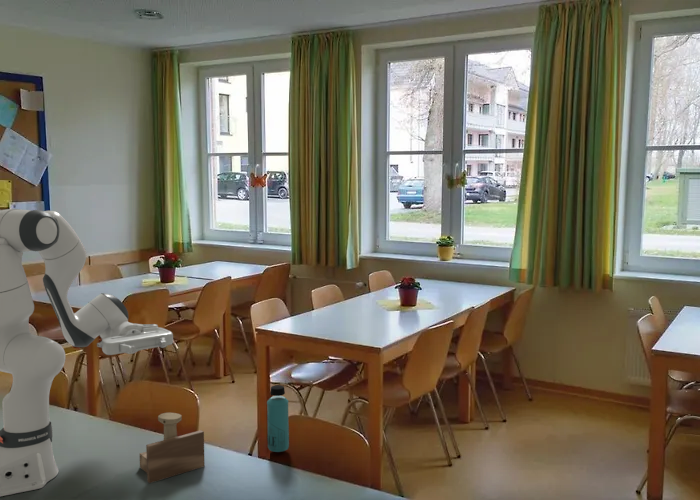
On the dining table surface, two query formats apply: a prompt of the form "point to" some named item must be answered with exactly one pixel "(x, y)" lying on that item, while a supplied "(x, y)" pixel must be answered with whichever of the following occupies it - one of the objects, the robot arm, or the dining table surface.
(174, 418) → the handle
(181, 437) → the wooden drawer
